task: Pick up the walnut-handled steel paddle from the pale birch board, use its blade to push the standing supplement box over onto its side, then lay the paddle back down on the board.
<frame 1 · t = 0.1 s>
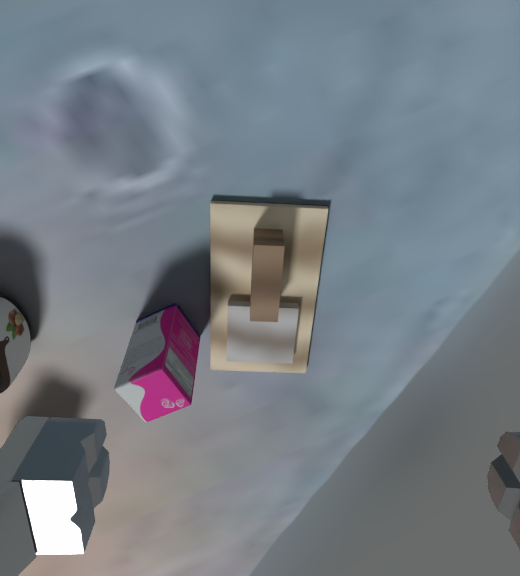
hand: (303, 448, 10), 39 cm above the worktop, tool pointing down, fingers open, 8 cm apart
paddle: (264, 286, 52), point 1 cm above the worktop, touching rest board
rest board: (263, 294, 53), on the worktop
supplement box: (169, 327, 56), on the worktop
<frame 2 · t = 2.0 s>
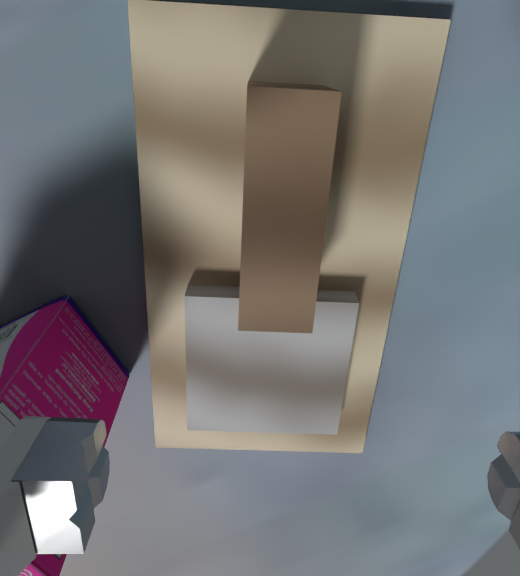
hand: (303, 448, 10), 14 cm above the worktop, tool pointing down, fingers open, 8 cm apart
paddle: (274, 249, 21), point 1 cm above the worktop, touching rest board
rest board: (271, 271, 23), on the worktop
supplement box: (61, 354, 25), on the worktop
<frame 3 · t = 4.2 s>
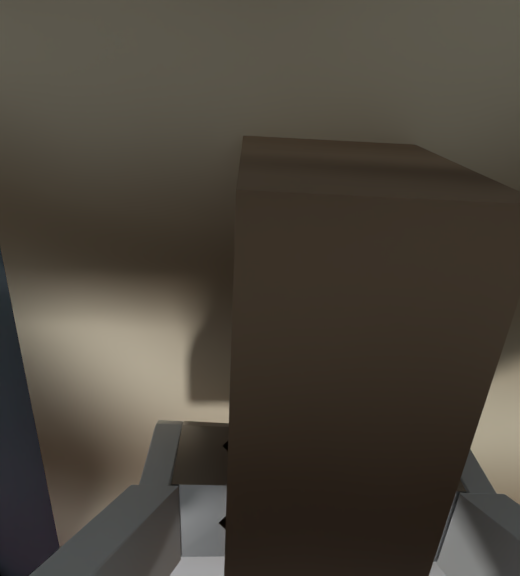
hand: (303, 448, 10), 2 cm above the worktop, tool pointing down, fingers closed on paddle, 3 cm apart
paddle: (295, 446, 11), point 1 cm above the worktop, touching gripper, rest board
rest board: (287, 467, 12), on the worktop
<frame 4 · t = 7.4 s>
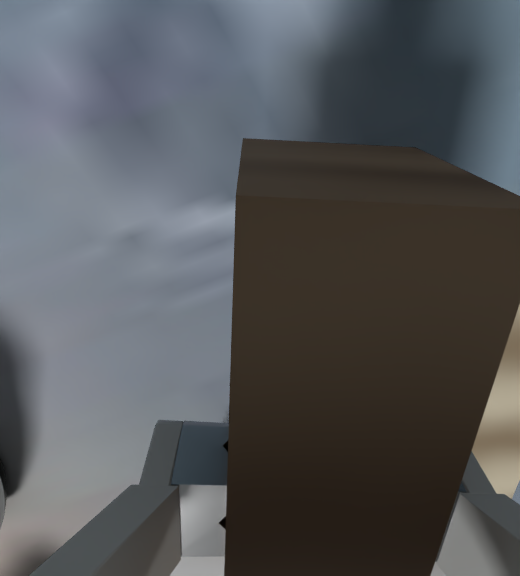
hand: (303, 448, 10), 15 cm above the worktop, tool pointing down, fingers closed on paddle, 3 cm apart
paddle: (295, 449, 11), point 14 cm above the worktop, touching gripper
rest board: (438, 418, 29), on the worktop
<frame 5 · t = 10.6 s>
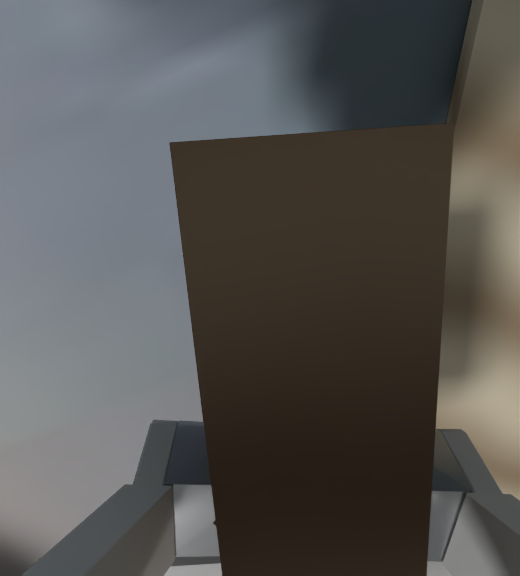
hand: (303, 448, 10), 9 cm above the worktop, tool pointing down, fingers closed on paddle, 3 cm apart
paddle: (300, 448, 11), point 8 cm above the worktop, tilted 7°, touching gripper
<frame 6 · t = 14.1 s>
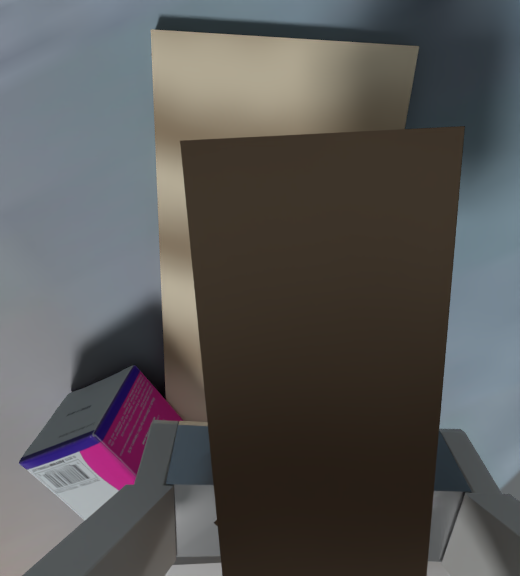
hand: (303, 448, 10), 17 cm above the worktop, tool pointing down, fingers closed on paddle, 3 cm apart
paddle: (299, 448, 11), point 16 cm above the worktop, tilted 7°, touching gripper
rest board: (270, 260, 26), on the worktop
supplement box: (78, 406, 26), point 3 cm above the worktop, touching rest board
when the fingers open (4 cm above the worktop, at t = 17.2 s): paddle drops 2 cm, resting on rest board.
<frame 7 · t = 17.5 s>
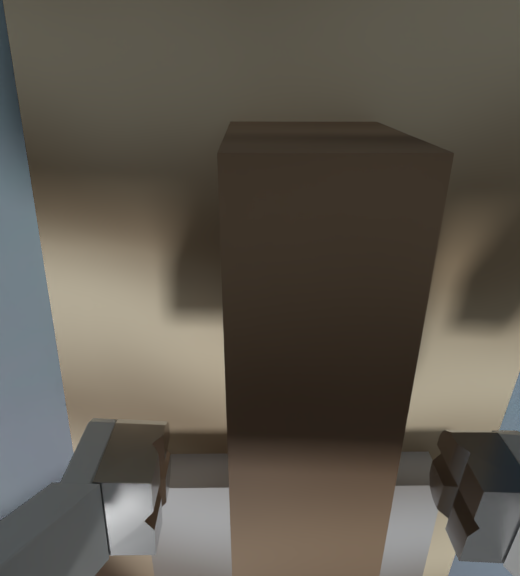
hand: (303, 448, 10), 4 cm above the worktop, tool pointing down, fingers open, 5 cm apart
paddle: (292, 396, 12), point 1 cm above the worktop, touching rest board
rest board: (283, 424, 14), on the worktop
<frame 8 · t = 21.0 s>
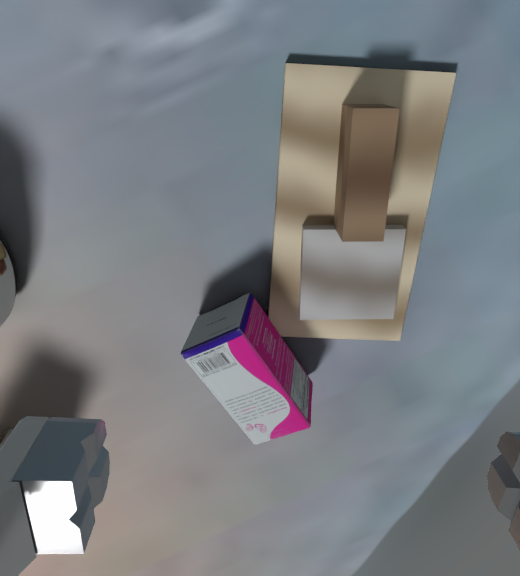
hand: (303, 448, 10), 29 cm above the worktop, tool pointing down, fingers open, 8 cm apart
paddle: (354, 200, 36), point 1 cm above the worktop, touching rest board
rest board: (348, 217, 38), on the worktop
supplement box: (215, 318, 38), point 3 cm above the worktop, touching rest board
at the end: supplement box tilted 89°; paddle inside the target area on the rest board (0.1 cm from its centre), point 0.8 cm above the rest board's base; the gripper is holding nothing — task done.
